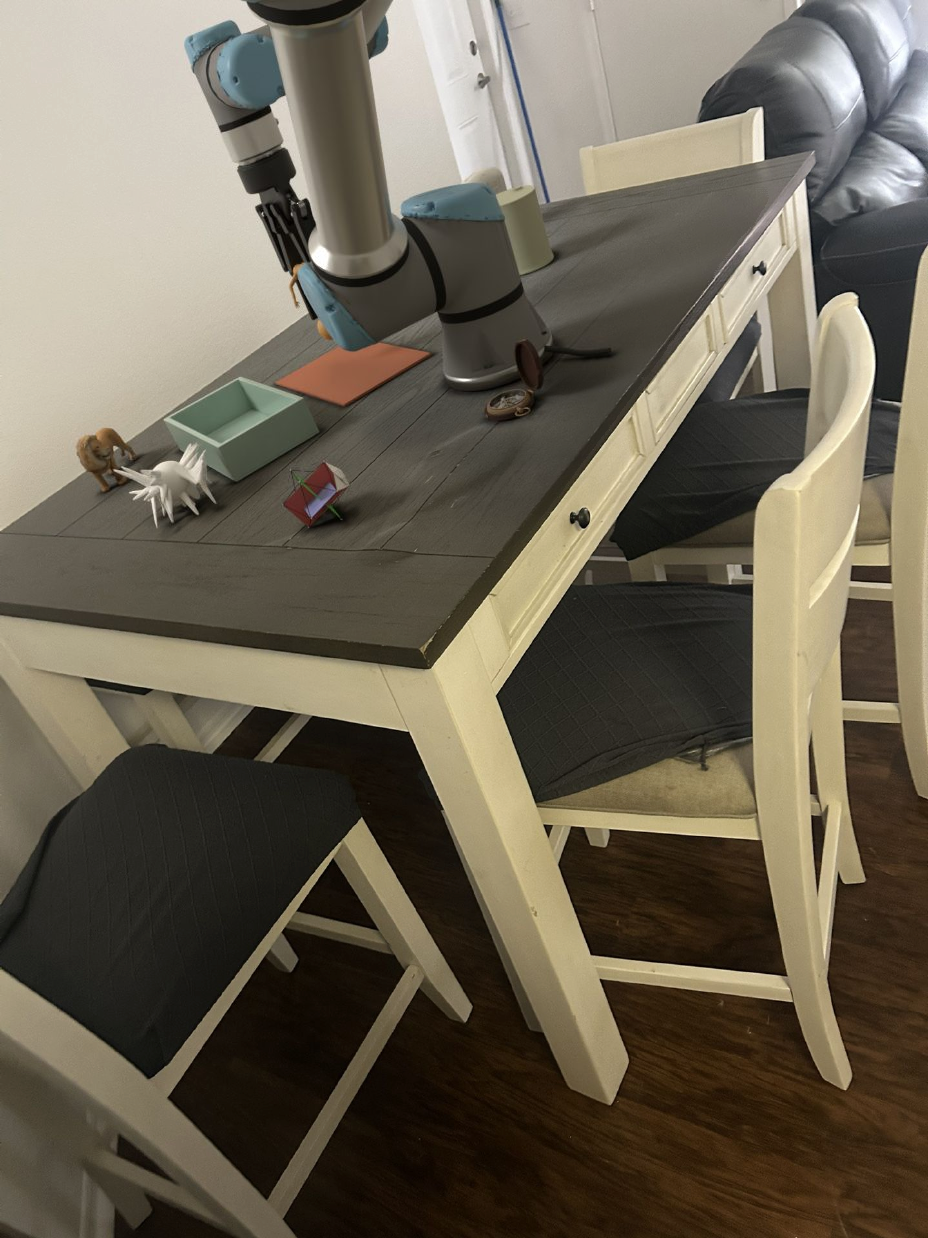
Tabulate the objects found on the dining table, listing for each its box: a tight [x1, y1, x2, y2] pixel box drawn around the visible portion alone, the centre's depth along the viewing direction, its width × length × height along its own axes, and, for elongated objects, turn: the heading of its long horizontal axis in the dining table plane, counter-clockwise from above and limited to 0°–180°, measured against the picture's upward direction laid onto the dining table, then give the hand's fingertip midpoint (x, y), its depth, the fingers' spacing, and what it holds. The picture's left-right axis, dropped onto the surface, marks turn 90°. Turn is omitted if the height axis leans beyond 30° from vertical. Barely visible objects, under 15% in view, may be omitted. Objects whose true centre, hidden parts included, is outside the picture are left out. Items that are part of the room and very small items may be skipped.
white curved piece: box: [460, 166, 508, 194], centre depth 174 cm, size 10×4×12 cm, turn 134°
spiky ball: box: [114, 443, 218, 529], centre depth 118 cm, size 11×12×8 cm
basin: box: [163, 376, 320, 483], centre depth 133 cm, size 23×14×5 cm, turn 36°
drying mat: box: [275, 341, 432, 408], centre depth 144 cm, size 24×16×1 cm, turn 36°
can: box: [496, 184, 555, 276], centre depth 154 cm, size 9×9×12 cm
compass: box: [484, 339, 545, 421], centre depth 110 cm, size 8×8×7 cm
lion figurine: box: [75, 427, 138, 493], centre depth 137 cm, size 15×5×9 cm, turn 13°
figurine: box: [288, 262, 334, 341], centre depth 138 cm, size 8×6×12 cm
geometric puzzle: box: [281, 460, 351, 529], centre depth 104 cm, size 7×7×8 cm
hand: (328, 317), depth 139 cm, fingers open, 5 cm apart
